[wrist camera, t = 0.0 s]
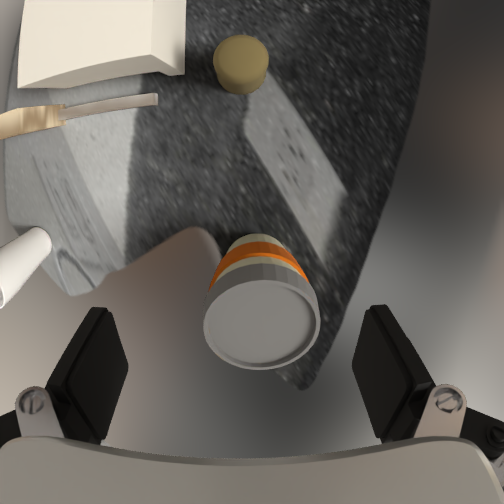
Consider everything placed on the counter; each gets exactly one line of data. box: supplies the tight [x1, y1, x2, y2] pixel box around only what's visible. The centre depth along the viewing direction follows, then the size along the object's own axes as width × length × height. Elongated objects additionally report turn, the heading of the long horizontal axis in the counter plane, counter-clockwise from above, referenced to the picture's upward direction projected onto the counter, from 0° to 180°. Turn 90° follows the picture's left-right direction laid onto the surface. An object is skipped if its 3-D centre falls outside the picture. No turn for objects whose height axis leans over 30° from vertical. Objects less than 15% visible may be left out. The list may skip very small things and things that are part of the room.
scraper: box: [0, 93, 158, 140], centre depth 29 cm, size 3×18×11 cm, turn 90°
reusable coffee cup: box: [203, 233, 320, 370], centre depth 38 cm, size 13×12×15 cm
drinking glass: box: [0, 227, 52, 309], centre depth 35 cm, size 7×7×15 cm
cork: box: [213, 35, 269, 95], centre depth 28 cm, size 6×6×11 cm
